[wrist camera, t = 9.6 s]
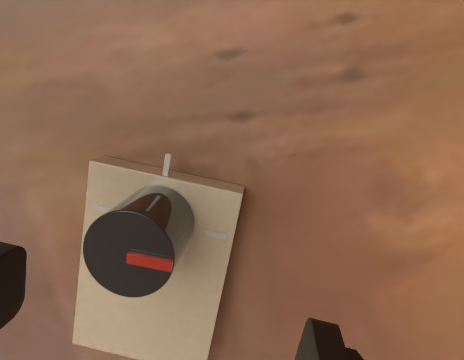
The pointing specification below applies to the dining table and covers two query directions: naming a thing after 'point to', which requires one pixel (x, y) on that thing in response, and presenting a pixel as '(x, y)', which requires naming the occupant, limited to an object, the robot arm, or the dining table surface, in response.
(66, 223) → the dining table surface
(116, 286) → the hob knob
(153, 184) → the hob panel
